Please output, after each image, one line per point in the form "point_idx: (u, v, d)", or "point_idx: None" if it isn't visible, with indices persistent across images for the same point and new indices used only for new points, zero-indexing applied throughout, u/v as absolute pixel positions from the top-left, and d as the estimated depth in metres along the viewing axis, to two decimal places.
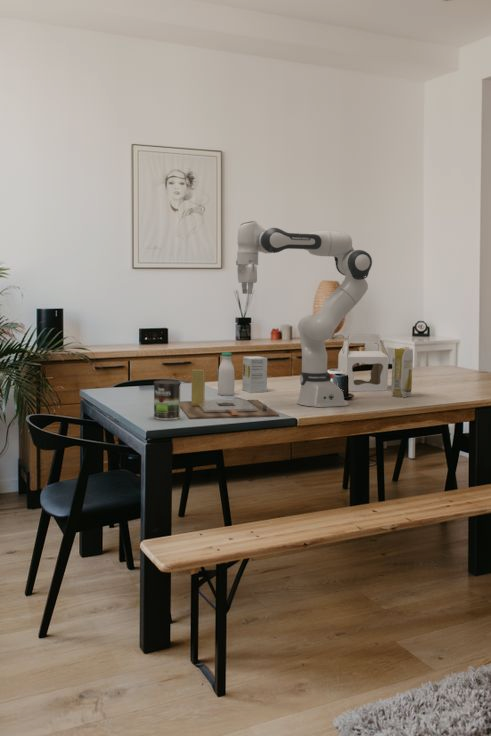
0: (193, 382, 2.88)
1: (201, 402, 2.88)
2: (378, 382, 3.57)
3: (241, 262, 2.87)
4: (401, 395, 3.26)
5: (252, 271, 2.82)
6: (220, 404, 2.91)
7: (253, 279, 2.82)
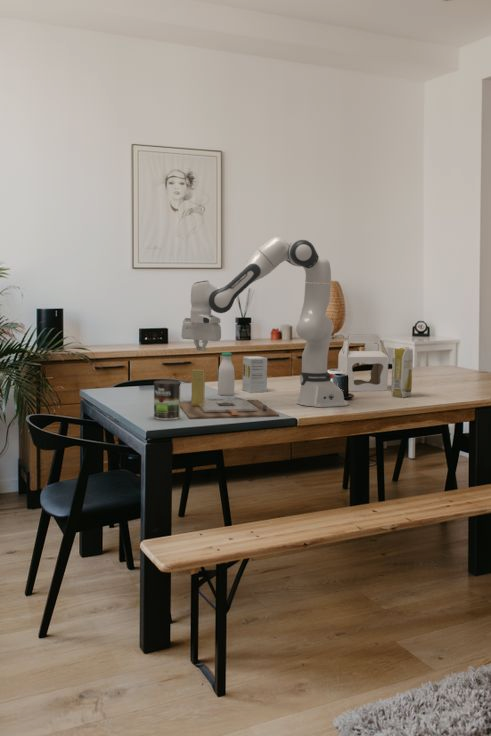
0: (193, 382, 2.88)
1: (201, 402, 2.88)
2: (378, 382, 3.57)
3: None
4: (401, 395, 3.26)
5: None
6: (220, 404, 2.91)
7: None
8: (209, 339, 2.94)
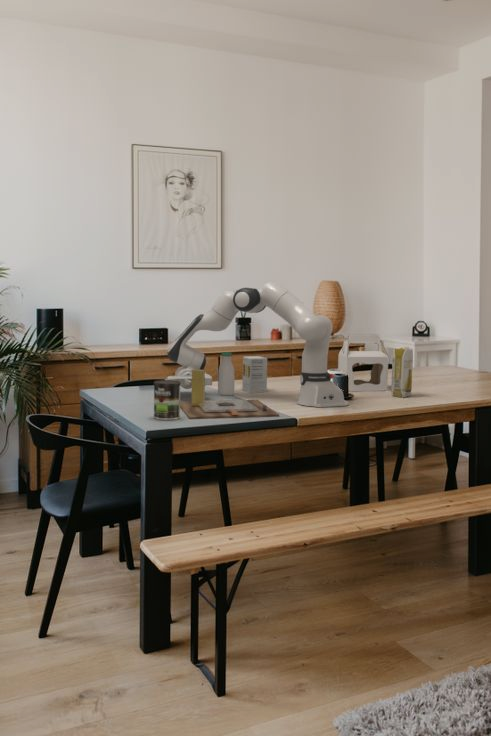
0: (193, 382, 2.88)
1: (201, 402, 2.88)
2: (378, 382, 3.57)
3: (181, 386, 3.14)
4: (401, 395, 3.26)
5: None
6: (220, 404, 2.91)
7: None
8: None
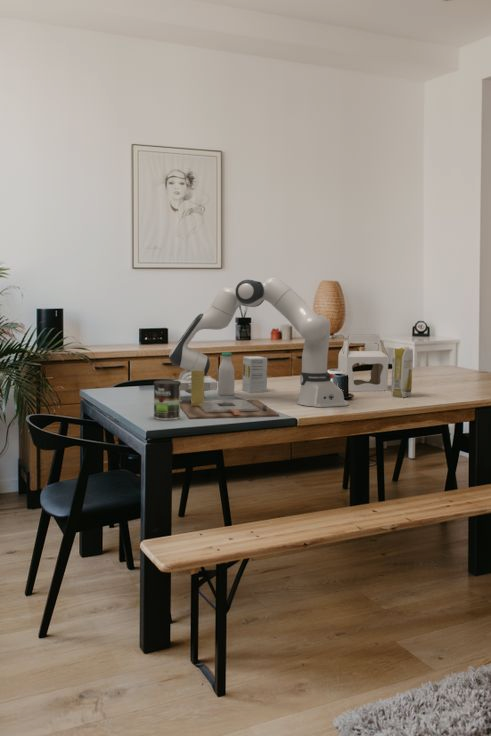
0: (193, 382, 2.87)
1: (201, 402, 2.88)
2: (378, 382, 3.57)
3: (185, 390, 3.03)
4: (401, 395, 3.26)
5: None
6: (220, 404, 2.90)
7: None
8: (209, 381, 2.97)
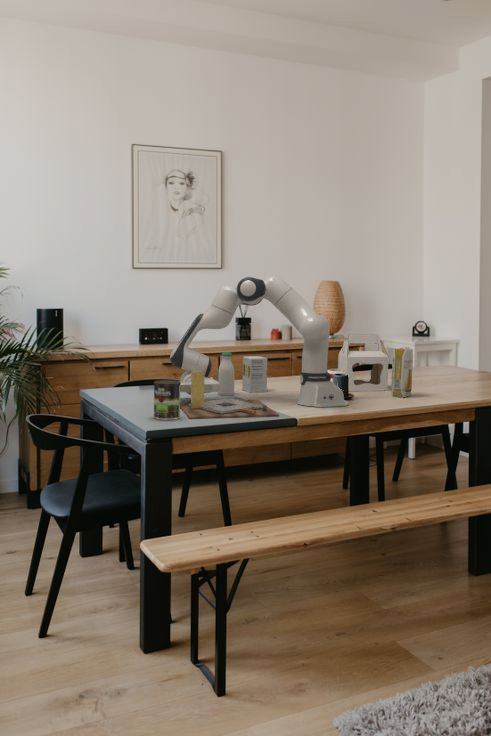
0: (194, 384, 2.82)
1: (202, 404, 2.84)
2: (378, 382, 3.57)
3: (186, 392, 2.97)
4: (401, 395, 3.26)
5: None
6: (217, 405, 2.89)
7: None
8: (211, 383, 2.91)
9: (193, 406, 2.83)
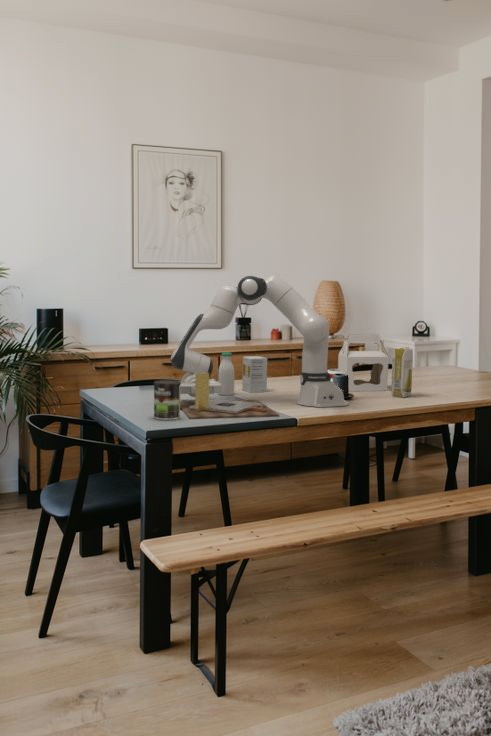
0: (200, 386, 2.77)
1: (207, 405, 2.80)
2: (378, 382, 3.57)
3: (188, 394, 2.93)
4: (401, 395, 3.26)
5: None
6: (216, 405, 2.88)
7: None
8: (213, 384, 2.87)
9: (199, 408, 2.78)
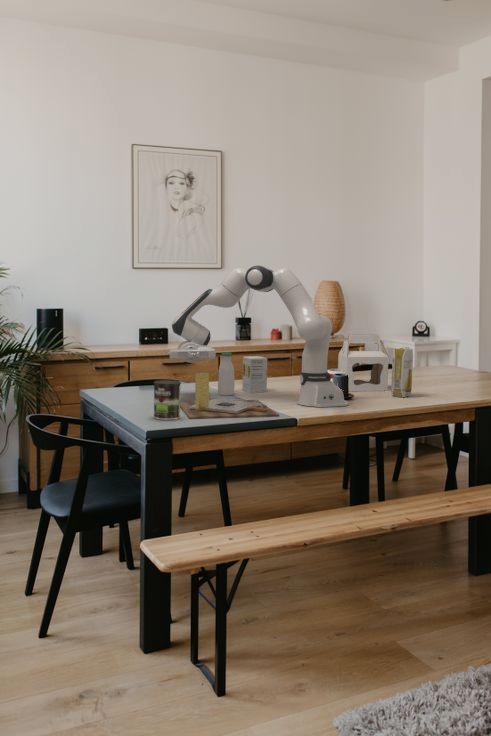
0: (200, 386, 2.77)
1: (207, 405, 2.80)
2: (378, 382, 3.57)
3: (184, 360, 3.08)
4: (401, 395, 3.26)
5: (169, 354, 3.03)
6: (216, 405, 2.88)
7: (169, 353, 3.00)
8: (207, 350, 3.03)
9: (199, 408, 2.78)
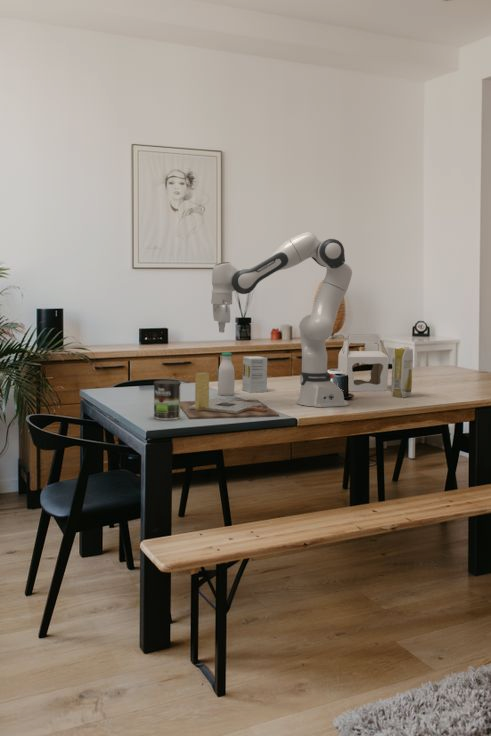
0: (200, 386, 2.77)
1: (207, 405, 2.80)
2: (378, 382, 3.57)
3: (215, 302, 2.95)
4: (401, 395, 3.26)
5: (226, 311, 2.89)
6: (216, 405, 2.88)
7: (227, 319, 2.89)
8: None
9: (199, 408, 2.78)
